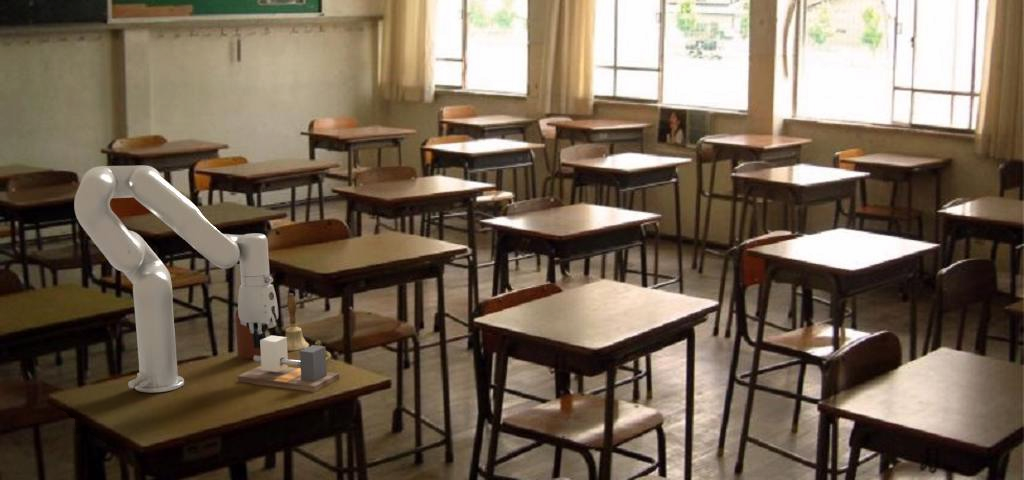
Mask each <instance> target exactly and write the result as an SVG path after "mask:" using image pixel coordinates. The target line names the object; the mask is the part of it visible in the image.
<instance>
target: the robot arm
mask: <svg viewBox="0 0 1024 480" xmlns="http://www.w3.org/2000/svg"><path fill="white" fill-rule="evenodd" d="M118 198H119V199H122V198H123V199H127V198H128V199H129V198H130V199H131V198H134V199H135V200H136V201H137V202H138V203H140V204H141V205H142V206H143V207H145V208H146V209H147V210H149V212H150V213H152V214H153V215H155V216H156V217H157V218H158V219H159V220H160V221H162V222H163V223H164V224H165V225H167V226H168V227H169V228H170V229H172V231H173V232H175V233H176V234H177V235H178V236H179V237H180V238H182V239H183V240H185V242H187V243H188V244H189V245H190V246H191V247H192V248H193V249H194V250H196V251H197V252H198V253H199V254H200V255H202V256H203V258H205V259H207V261H209V262H211V264H213V265H214V266H216V268H217V267H218V268H220V269H226V270H227V269H231V268H233V267H234V266H236V264H238V262H239V267H240V272H241V273H240V281H241V282H240V285H239V289H238V296H237V297H238V299H237V309H238V314H239V319H240V320H241V321H240V323H241V324H242V325H245V326H247V327H248V328H249V329H250V332H251V333H252V334H253V344H254V348H258V349H260V340H261V339H264V338H266V337H267V336H266V332H267V331H268V329H272V328H275V327H277V322H276V320H278V319H279V307H278V306H279V305H278V300H277V295H276V294H277V293H276V291H275V287H274V284H271V283H273V282H274V278H273V277H271V274H270V261H269V260H270V259H269V258H270V257H269V242H268V237H267V236H266V235H265V234H264V233H245V234H229V233H222V232H221V231H220V230H218V229H217V228H216V227H215V226H214V225H213V224H212V223H211V222H209V221H208V219H207V218H205V216H204V214H202V212H201V211H200V209H199V208H198V207H197V206H196V205H195V204H194V203H193V202H192V201H191V200H190V199H189V198H187V197H186V196H185V195H184V194H182V193H181V192H180V191H179V190H178V189H176V188H175V187H174V186H173V185H171V183H169V182H168V181H167V180H166V179H164V178H163V177H162V175H161V173H160V172H159V171H158V170H157V169H156V168H154V167H153V166H151V165H108V166H107V165H101V166H100V165H99V166H94V167H92V168H90V169H89V170H87V171H86V172H85V173H84V174H83V177H82V179H81V181H80V184H79V186H78V188H77V190H76V194H75V196H74V203H73V204H74V206H73V207H74V213H75V216H76V219H77V221H78V223H79V224H80V226H81V227H82V228H83V230H84V231H85V233H86V234H87V235H88V236H89V238H90V239H91V240H92V242H93V243H94V245H96V247H97V248H98V249H99V251H100V252H101V253H102V255H104V257H105V259H107V261H108V262H109V264H110V265H111V266H112V267H113V268H114V269H116V270H117V271H120V272H122V273H123V274H124V275H125V276H126V278H127V279H128V280H129V282H131V284H132V293H133V294H132V295H133V305H134V314H135V315H134V316H135V329H136V340H137V354H138V355H137V356H138V370H139V372H136V373H137V374H136V378H134V379H132V380H129V381H128V383H127V384H128V387H129V389H135V390H136V391H138V392H142V393H151V394H152V393H165V392H169V391H175V390H177V389H180V388H181V387H183V386H184V384H185V379H184V378H183V377H182V376H180V375H178V361H177V347H176V333H175V322H174V321H175V319H174V317H175V316H174V303H173V284H172V283H173V282H172V279H171V274H170V271H169V269H168V268H167V266H166V265H165V264H164V262H163V261H162V260H161V259H160V258H159V257H158V255H157V253H155V252H154V251H153V249H152V248H151V247H150V245H148V243H147V242H146V241H145V240H144V238H143V237H142V236H141V235H140V234H138V233H137V232H135V231H133V230H129V229H128V228H127V227H126V226H125V224H124V223H123V222H122V221H121V219H120V218H119V217H118V215H117V214H116V213H115V212H114V211H113V210H112V207H111V201H112V199H118Z"/></svg>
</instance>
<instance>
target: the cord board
mask: <svg viewBox="0 0 1024 480" xmlns="http://www.w3.org/2000/svg"><path fill="white" fill-rule="evenodd" d="M338 380H340V373H338V372H337V373H336V372H330V371H327V376H325V377H323V378H321V379H320V380H318V381H316V382H309V381H301V367H293V366H291V367H290V366H288V367H287V368H285V369H283V370H280V371H278V372H274V371H266V370H262V368H261V365H259V366H257V367H255V368H252V369H250V370H247V371H246V372H243V373H241V374H239V375H237V382H239V383H246V384H254V385H260V386H261V385H263V386H268V387H269V386H270V387H276V388H282V389H283V388H284V389H290V390H297V391H304V392H305V391H306V392H310V393H311V392H313V393H315V392H317V391H319V390H321V389H323V388H325V387H326V386H329V385H331V384H332V383H334V382H337V381H338Z"/></svg>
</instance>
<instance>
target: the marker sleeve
mask: <svg viewBox="0 0 1024 480" xmlns="http://www.w3.org/2000/svg"><path fill="white" fill-rule="evenodd" d="M265 337H266V338H264V339H261V340H260V349H261V361H260V364H261V365H260V366H261V368H262V370H266V371H274V372H278V371H280V370H283V369H285V368H287V367H289V365H286V364H280V359H288V360H289V358H288V351H287V337H285V336H279V335H272V334H271V335H268V336H265Z"/></svg>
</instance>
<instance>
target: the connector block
mask: <svg viewBox="0 0 1024 480" xmlns="http://www.w3.org/2000/svg"><path fill="white" fill-rule="evenodd" d="M326 351H327V349H326V346H323V345H322V346H316V345H315V344H311V345H309V347H307V348H305V349H302V350H299V356H300V365H301V366H300V368H301V381H309V382H316V381H318V380H320V379H321V378H323V377H325V376H327V372H328V371H327V363H326Z"/></svg>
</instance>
